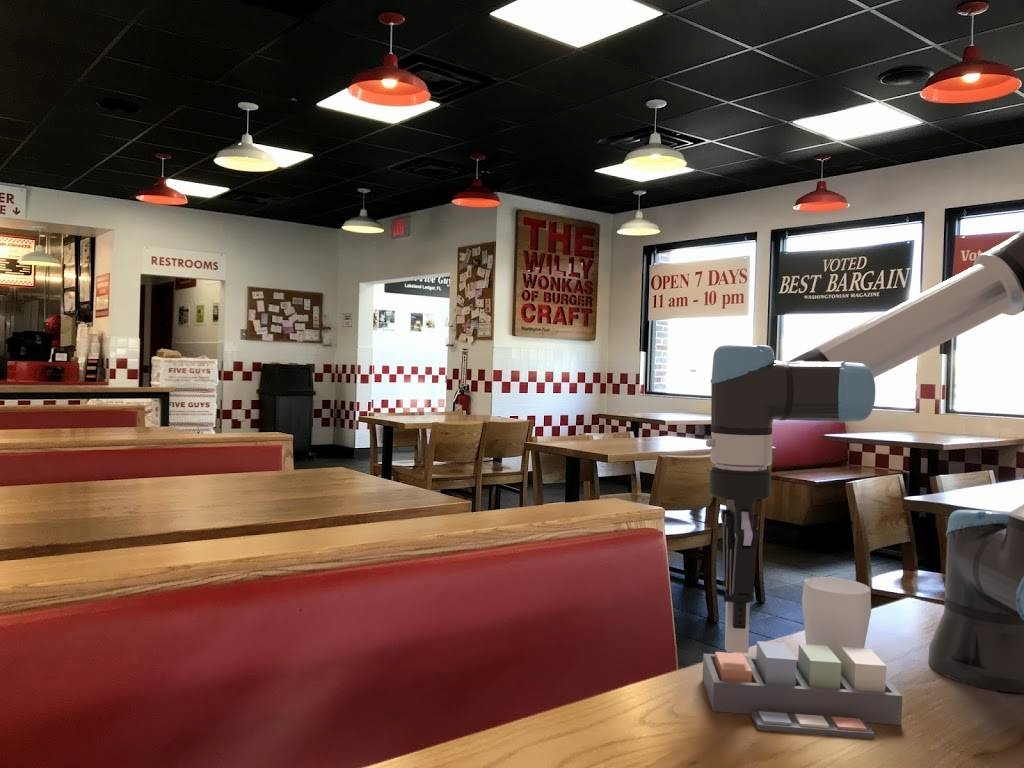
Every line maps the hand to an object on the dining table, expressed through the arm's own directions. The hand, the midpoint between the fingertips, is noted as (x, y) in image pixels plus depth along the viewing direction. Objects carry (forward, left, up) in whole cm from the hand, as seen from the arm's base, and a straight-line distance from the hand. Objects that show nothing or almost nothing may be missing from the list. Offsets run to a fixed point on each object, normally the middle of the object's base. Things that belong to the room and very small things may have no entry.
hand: (736, 650), depth 102 cm
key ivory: (-16, 0, -3) cm, 16 cm away
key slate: (-5, 0, -3) cm, 6 cm away
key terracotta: (0, 0, -5) cm, 5 cm away
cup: (-16, -12, -6) cm, 21 cm away
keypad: (-8, 0, -6) cm, 10 cm away
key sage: (-10, 0, -3) cm, 11 cm away
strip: (-8, +8, -6) cm, 12 cm away
